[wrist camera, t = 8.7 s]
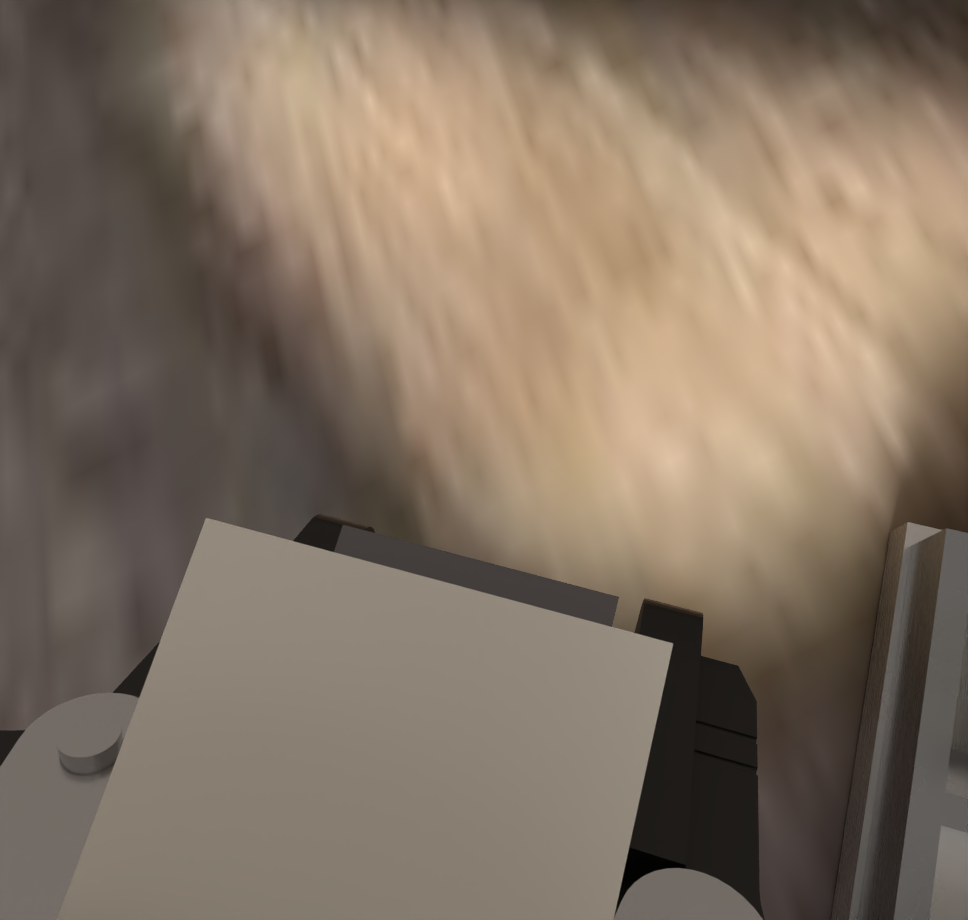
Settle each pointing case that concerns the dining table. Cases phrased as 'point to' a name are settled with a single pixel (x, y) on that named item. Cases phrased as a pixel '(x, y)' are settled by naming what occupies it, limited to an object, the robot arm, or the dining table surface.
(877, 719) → the gray compartment block tray
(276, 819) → the tall off-white block
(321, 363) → the dining table surface
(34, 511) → the dining table surface
